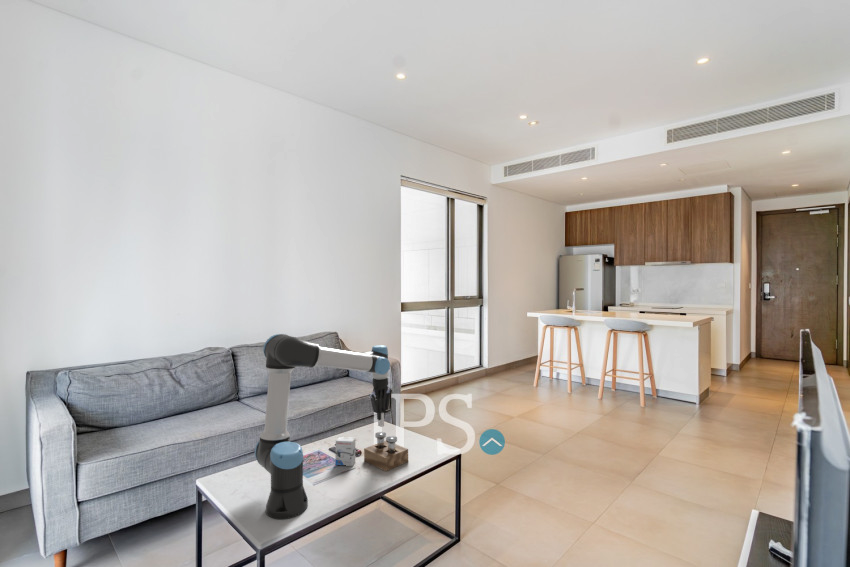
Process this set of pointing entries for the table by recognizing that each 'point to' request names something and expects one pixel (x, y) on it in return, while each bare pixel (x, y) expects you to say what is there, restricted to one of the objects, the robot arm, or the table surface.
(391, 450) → the peg near
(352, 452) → the ink box
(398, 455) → the socket block
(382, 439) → the peg far
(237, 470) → the table surface
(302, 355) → the robot arm
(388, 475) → the table surface
